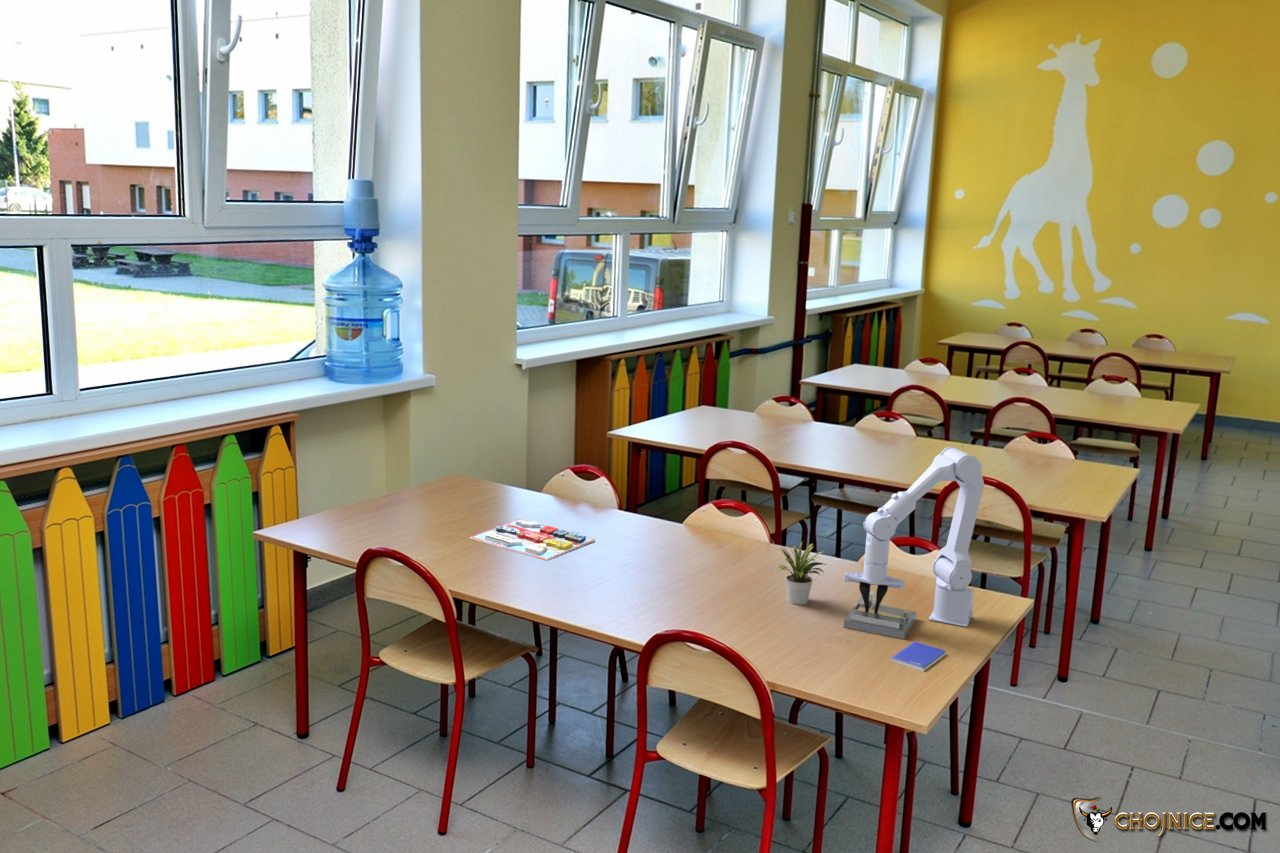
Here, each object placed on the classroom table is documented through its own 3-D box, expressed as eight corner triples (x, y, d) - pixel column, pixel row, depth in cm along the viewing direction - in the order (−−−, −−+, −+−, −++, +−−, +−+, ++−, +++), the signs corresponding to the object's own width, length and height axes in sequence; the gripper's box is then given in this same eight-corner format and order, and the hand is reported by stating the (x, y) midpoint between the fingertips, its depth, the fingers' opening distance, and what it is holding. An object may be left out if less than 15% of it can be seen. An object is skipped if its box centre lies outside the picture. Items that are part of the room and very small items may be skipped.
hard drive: (923, 667, 248) (946, 650, 258) (890, 656, 253) (913, 640, 263) (922, 673, 249) (945, 656, 258) (889, 663, 254) (913, 646, 263)
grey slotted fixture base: (916, 618, 279) (917, 604, 278) (903, 639, 266) (905, 624, 265) (858, 607, 285) (859, 593, 284) (843, 627, 272) (844, 612, 271)
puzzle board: (468, 541, 330) (468, 532, 330) (519, 523, 349) (519, 515, 348) (546, 563, 313) (547, 554, 313) (595, 543, 332) (595, 535, 331)
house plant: (778, 613, 279) (782, 553, 276) (758, 594, 292) (762, 536, 289) (830, 609, 283) (834, 549, 280) (808, 590, 296) (812, 533, 293)
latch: (873, 603, 283) (874, 592, 282) (868, 610, 278) (869, 598, 277) (862, 601, 284) (863, 590, 283) (857, 608, 279) (858, 596, 278)
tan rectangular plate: (903, 619, 273) (903, 617, 273) (900, 623, 271) (900, 620, 270) (859, 608, 278) (860, 606, 277) (857, 612, 275) (857, 610, 275)
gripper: (907, 559, 274) (902, 610, 277) (848, 551, 278) (844, 602, 281) (905, 568, 267) (900, 620, 270) (845, 560, 271) (841, 612, 274)
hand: (871, 612), depth 275 cm, fingers closed on tan rectangular plate, 2 cm apart
